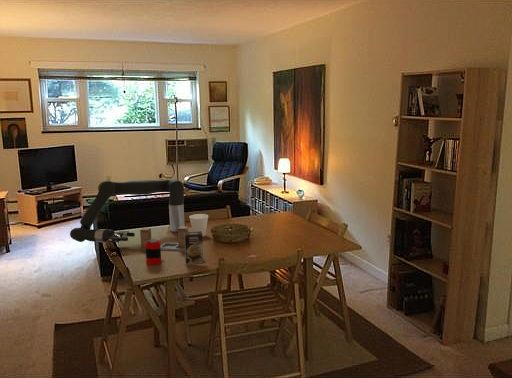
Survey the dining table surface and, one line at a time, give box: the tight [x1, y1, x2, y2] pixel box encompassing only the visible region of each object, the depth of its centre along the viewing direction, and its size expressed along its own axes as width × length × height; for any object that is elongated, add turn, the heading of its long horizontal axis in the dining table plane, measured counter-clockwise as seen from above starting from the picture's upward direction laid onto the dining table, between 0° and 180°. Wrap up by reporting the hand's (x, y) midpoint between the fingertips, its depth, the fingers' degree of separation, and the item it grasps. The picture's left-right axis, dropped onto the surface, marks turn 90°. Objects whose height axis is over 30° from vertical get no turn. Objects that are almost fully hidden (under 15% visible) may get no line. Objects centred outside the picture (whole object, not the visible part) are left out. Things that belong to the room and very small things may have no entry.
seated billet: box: [177, 225, 189, 249], centre depth 261 cm, size 4×4×12 cm
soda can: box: [145, 238, 162, 266], centre depth 243 cm, size 8×8×12 cm
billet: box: [139, 227, 152, 251], centre depth 266 cm, size 4×4×12 cm
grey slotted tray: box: [160, 242, 185, 253], centre depth 263 cm, size 12×21×3 cm, turn 80°
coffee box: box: [184, 231, 204, 266], centre depth 242 cm, size 9×6×16 cm
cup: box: [189, 213, 209, 237], centre depth 291 cm, size 12×12×12 cm
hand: (131, 236), depth 267 cm, fingers open, 8 cm apart
